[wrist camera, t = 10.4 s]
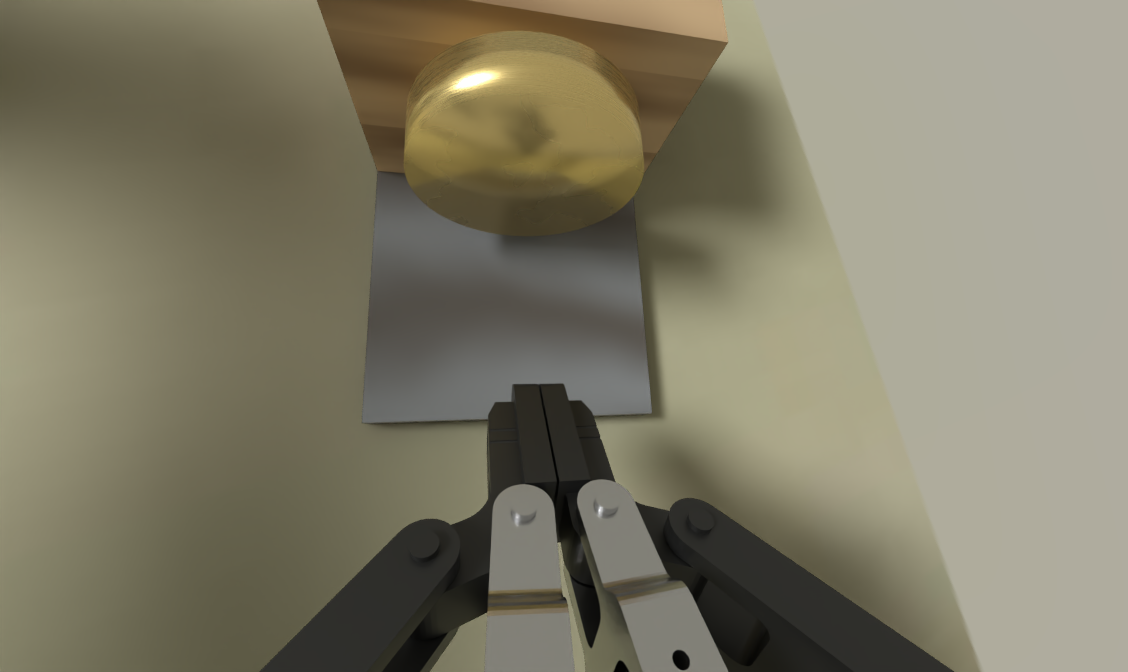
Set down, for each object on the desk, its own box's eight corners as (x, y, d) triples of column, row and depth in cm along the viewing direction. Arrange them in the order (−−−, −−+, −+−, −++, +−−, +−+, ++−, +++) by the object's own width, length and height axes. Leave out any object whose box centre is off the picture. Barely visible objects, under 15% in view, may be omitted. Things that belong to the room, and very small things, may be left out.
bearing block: (643, 414, 20) (782, 393, 11) (367, 423, 18) (256, 406, 9) (613, 45, 25) (693, -182, 16) (392, 11, 22) (337, -279, 13)
